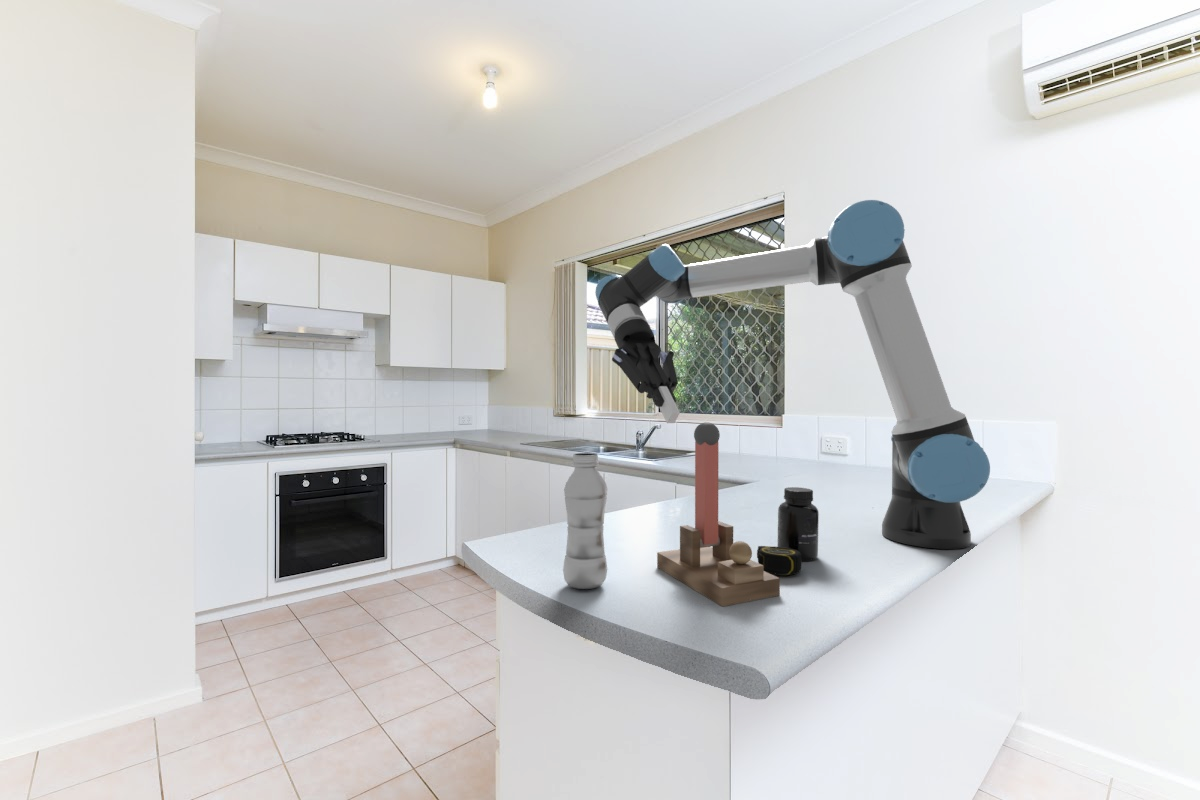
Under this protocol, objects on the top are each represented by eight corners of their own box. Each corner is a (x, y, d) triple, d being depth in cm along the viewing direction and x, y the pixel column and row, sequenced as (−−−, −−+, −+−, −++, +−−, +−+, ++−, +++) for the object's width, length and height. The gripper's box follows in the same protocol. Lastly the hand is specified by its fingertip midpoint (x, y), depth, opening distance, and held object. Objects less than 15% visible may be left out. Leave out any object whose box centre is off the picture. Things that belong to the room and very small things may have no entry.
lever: (688, 545, 87) (689, 422, 87) (709, 542, 89) (710, 421, 88) (703, 551, 83) (703, 423, 83) (724, 548, 85) (724, 422, 85)
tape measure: (799, 567, 91) (799, 545, 91) (803, 581, 84) (803, 557, 84) (756, 564, 92) (757, 542, 92) (757, 577, 86) (757, 554, 86)
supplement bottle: (811, 564, 92) (812, 494, 91) (771, 557, 96) (772, 489, 96) (823, 555, 97) (823, 488, 97) (784, 548, 101) (785, 484, 101)
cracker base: (657, 567, 90) (657, 519, 90) (707, 559, 94) (707, 514, 94) (722, 606, 74) (722, 548, 74) (779, 595, 78) (779, 540, 78)
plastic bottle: (558, 581, 84) (558, 452, 83) (600, 577, 86) (600, 451, 85) (569, 596, 77) (568, 457, 77) (613, 591, 80) (613, 455, 79)
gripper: (653, 346, 115) (696, 431, 100) (596, 344, 109) (633, 433, 94) (666, 318, 110) (713, 403, 95) (607, 315, 104) (647, 403, 89)
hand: (673, 417), depth 95 cm, fingers closed
